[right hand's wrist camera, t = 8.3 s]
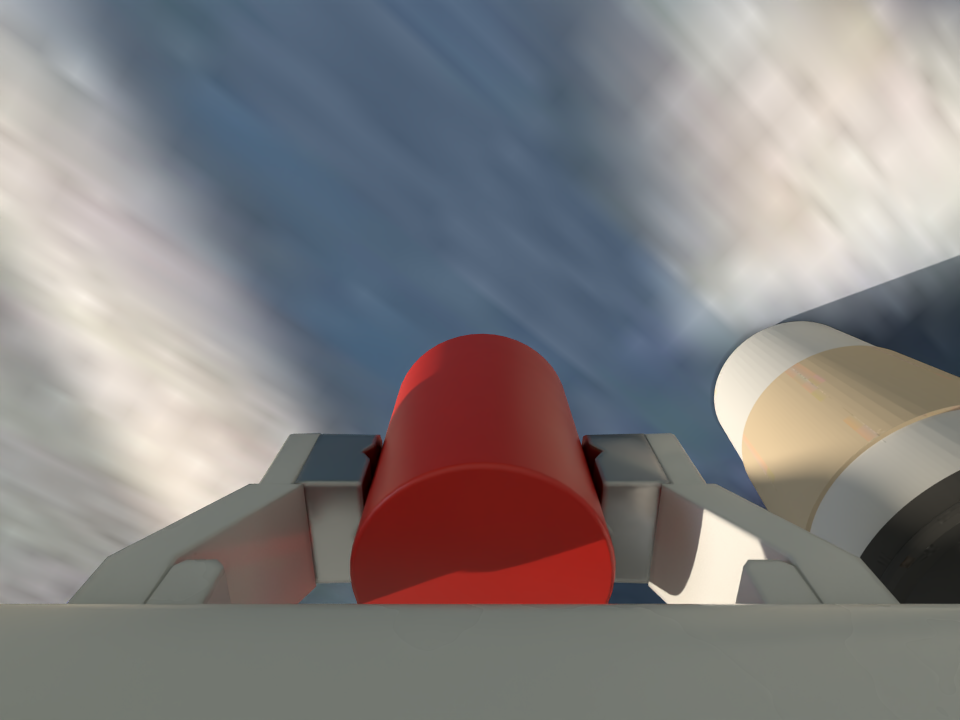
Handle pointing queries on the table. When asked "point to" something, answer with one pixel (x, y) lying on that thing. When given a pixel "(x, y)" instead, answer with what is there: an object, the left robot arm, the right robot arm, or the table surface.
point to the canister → (482, 488)
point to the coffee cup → (852, 450)
